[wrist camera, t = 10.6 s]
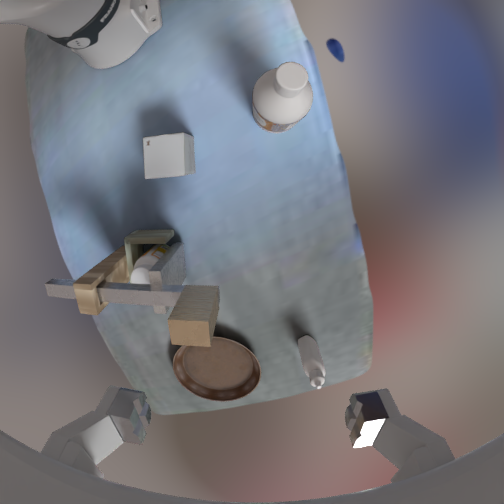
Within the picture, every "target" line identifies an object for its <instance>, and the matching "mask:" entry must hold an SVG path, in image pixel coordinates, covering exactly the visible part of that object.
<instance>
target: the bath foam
mask: <svg viewBox="0 0 504 504" xmlns="http://www.w3.org/2000/svg"><path fill="white" fill-rule="evenodd" d="M252 100H253V116H254V119H255V121H256V123H257V124H258V126H259V127H260V128H262V129H263V130H265V131H267V132H270V133H282V132H285V131H287V130H289V129H291V128H292V127H293V126H294V125H295V124H297V123H298V122H299V121H300V120H301V119H302V118H303V117H305V116H306V114H307V113H308V112H309V110H310V108H311V105H312V101H313V91H312V88H311V85H310V83H309V81H308V73H307V71H306V69H305V68H304V67H303V66H302V65H300V64H298V63H295V62H286V63H283V64H281V65H280V66H279V67H278V68H275V69H272V70H269V71H267V72H266V73H264V74H263V75H262V76H261V77H260V78H259V79H258V80H257V82H256V84H255V86H254V88H253V93H252Z"/></svg>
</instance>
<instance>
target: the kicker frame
mask: <svg viewBox="0 0 504 504" xmlns="http://www.w3.org/2000/svg"><path fill="white" fill-rule="evenodd" d="M173 236H174V229H170V230H135V231H134V232H132V233H131V234H129V235H127V236H126V237H124V242H125V246H122V247H120V248H119V249H117V250H116V251H115V252H113V253H112V254H111V255H109V256H108V257H107V258H105V259H104V260H102V261H101V262H100V263H98V264H97V265H96V266H95V267H93V268H92V269H91V270H89V271H88V272H87V273H85V274H84V275H83V276H81V277H80V278H79V279H78V280H76V281H75V282H74V283H73V287H74V291H75V295H76V299H77V302H78V306H79V310H80V313H83V314H91V315H98V314H99V313H100V312H101V311H102V310H103V309H104V308H105V307H106V306H107V304H108V303H109V302H99V298H98V293H97V289H96V286H97V285H98V284H99V283H101V282H114V283H128V282H129V281H130V283H132V282H131V274H132V272H133V270H134V265H135V263H136V261H137V260H138V259H139V258H140V257H141V256H142V255H143V254H144V253H143V244H166V243H167V242H168V241H169V240H170V239H171V238H172V237H173Z"/></svg>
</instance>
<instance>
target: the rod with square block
mask: <svg viewBox="0 0 504 504" xmlns="http://www.w3.org/2000/svg"><path fill="white" fill-rule="evenodd" d="M185 278H186V268H185V255H184V243H174V244H173V245H172V246H171V247H170V248H169V249H168V250H167V251H166V252H165V253H164V254H163V256H162V257H161V258H160V259H159V260H158V261H157V262H156V263H155V264H154V266H153V267H152V268H151V269H150V270H149V279H150V284H135V283H114V282H101V283H99V284H98V285H97V286H96V289H97V293H98V298H99V302H110V303H123V304H136V305H152V306H154V311H155V313H160V314H166V313H167V311H168V309H169V307H174V308H173V310H172V312H171V314H170V316H169V318H168V325H169V331H170V337H171V343H172V345H186V346H204V347H211V343H212V338H213V334H214V329H215V325H216V320H217V316H218V311H219V302H220V292H219V286H201V285H182V284H183V282H184V280H185ZM75 281H76V280H66V279H51V280H49V281H48V282H46V283H45V286H46V290H47V294H48V296H53V297H61V298H70V299H76V295H75V291H74V287H73V283H74V282H75Z"/></svg>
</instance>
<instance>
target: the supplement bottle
mask: <svg viewBox="0 0 504 504" xmlns="http://www.w3.org/2000/svg"><path fill="white" fill-rule="evenodd" d="M169 248H170V246H168V245H166V244H156V245H154V246H152V247H151V248H150V249H149V250H148V251H147V252H146V253H145V254H143V255H142V256H141V257H140V258H139V259H138V260H137V261H136V263H135V265H134V270H133V272H132V274H131V282H132V283H135V284H150V279H149V270H150V269H151V268H152V267H153V266H154V264H155V263H156V262H157V261H158V260H159V259H160V258H161V257H162V256H163V254H164V253H165V252H166V251H167V250H168V249H169Z"/></svg>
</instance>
